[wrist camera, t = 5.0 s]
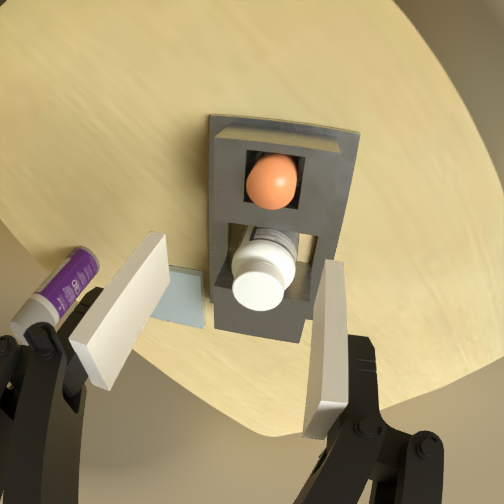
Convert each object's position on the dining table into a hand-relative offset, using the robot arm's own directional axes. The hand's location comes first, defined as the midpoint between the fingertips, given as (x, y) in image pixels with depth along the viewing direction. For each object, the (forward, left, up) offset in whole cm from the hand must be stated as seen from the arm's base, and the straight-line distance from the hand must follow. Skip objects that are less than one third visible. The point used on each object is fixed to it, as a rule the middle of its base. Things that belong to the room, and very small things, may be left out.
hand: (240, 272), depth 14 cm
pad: (+19, -12, -17) cm, 28 cm away
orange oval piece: (0, 0, -15) cm, 15 cm away
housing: (+8, 0, -17) cm, 19 cm away
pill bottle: (+8, 0, -17) cm, 19 cm away
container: (+17, -25, -17) cm, 35 cm away
